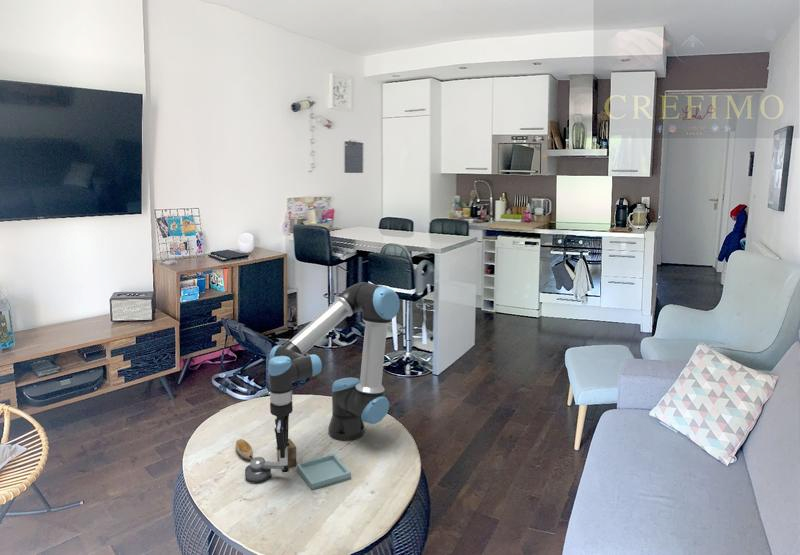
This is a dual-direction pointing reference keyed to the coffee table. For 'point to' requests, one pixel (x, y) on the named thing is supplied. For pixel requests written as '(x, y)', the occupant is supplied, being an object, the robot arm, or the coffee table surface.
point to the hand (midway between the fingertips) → (283, 464)
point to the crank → (266, 465)
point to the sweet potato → (244, 449)
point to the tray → (323, 471)
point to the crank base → (257, 475)
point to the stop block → (290, 454)
